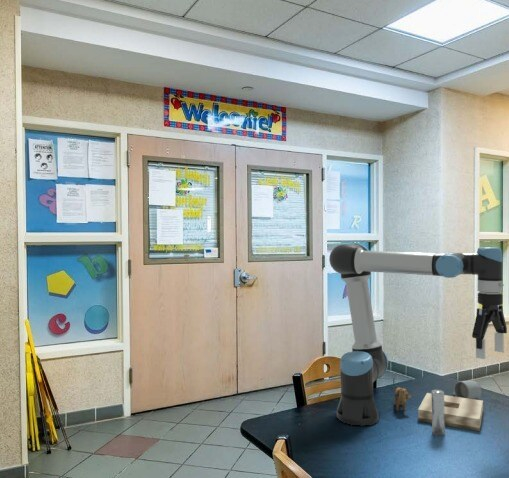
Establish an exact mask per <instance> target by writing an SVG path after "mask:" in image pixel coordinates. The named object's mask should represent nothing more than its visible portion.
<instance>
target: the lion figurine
mask: <svg viewBox="0 0 509 478" xmlns="http://www.w3.org/2000/svg"><path fill="white" fill-rule="evenodd" d="M411 397H412V395H411V394H409V392H408V391H407V389H406V388H402V387H396V388H395V391H394V403H393V405H396V408H395V411H396V410H397V412H399V411H400V405H402V406H401V408H402V411H406V410H407V408H406V407H405V406H406V402H407V401H408V400H409V401H410V398H411Z"/></svg>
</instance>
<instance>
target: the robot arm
mask: <svg viewBox="0 0 509 478" xmlns="http://www.w3.org/2000/svg"><path fill="white" fill-rule="evenodd" d="M503 260H504V259H503V250H502V248H500V247H492V246H491V247H489V246H488V247H485V246H483V247H478V248H477V251H476V252H449V251H448V252H442V253H431V252H428V253H427V252H404V251H383V250H382V251H380V250H369V248H367V247H366V246H364V245H363V244H360V243H345V244H343V243H342V244H339V245H336V246H335V247H334V248H333V249H332V251H330V254H329V264H330V265H329V266H330V267H331V268H332V269H333V271H335V272H336V273H338V274H340V279H341V280H342V281H343V282H345V286H346V292H347V298H348V305H349V312H350V318H351V325H352V332H353V337H354V343H353V345H352V346H351V351H349V352H346V353H344V354H342V356H341V357H340V363H339V369H340V371H339V372H340V375H339V376H340V399H339V401H338V406H337V408H336V418H338V419H339V420H340V421H342V422H345V423H347V424H346V425H348V424H352V425H364V426H363V427H366V426H365V425H370V426H373V425H375V423H376V424H377V423H379V421H378V420H380V419H379V418H380V417H379V416H380V415H379V411H378V409H377V405H376V403H375V399H374V382H375V381H377V380H378V379H380V378H381V377H383V376H384V374H385V373H386V371H387V370H388V366H389V359H388V356H387V354H386V352H385V351H384V350H383V346H382V345H383V344H382V343H381V342H380V341H379V340H378V337H377V332H376V326H375V320H374V313H373V307H372V306H373V305H372V301H371V299H372V298H371V294H370V287H369V282H368V281H369V278H370V277H371V273H373V272H374V273H385V274H387V273H388V274H390V273H391V274H402V275H403V274H405V275H421V276H435V277H443V278H446V279H449V278H452V279H453V278H456V277H458V276H459V275H474V276H475V275H477V292H478V293H477V303H478V304H479V305H481V308H479V307H478V308H476V316H475V321H474V325H473V329H472V334H471V337H472V339H475V358H476V359H480V360H486V338H485V335H486V333H487V330H488V327H489V325H490V324H491V323H492V326H493V328H494V330H495V332H494V352H498V353H504V351H505V350H504V347H505V346H504V345H505V344H504V342H505V341H504V340H505V339H504V337H505V336H504V334H507V333H508V331H507V329H508V328H507V327H508V326H507V324H506V319H505V315H504V309H503V301H504V300H503V293H502V292H503V287H504V283H503V270H504V269H503V267H504V265H503V262H504V261H503ZM338 419H337V420H338ZM339 420H338V421H339ZM340 421H339V422H340ZM342 422H341V423H342ZM352 425H351V426H352Z"/></svg>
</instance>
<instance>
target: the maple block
mask: <svg viewBox="0 0 509 478" xmlns="http://www.w3.org/2000/svg"><path fill="white" fill-rule="evenodd" d="M444 408H445V426H448V427H454V428H460V429H467V430H472V431H479V432H480V431H481V426H482V421H483V416H484V415H483V414H484V400H481V399H468V398H461V397H456V396H454V395H446V394H444ZM417 419H418V421H419V422H426V423H430V424H432V396H431V392H426V394H425V396H424V398H423V399H422V401H421V404H420V405H419V407H418V409H417Z"/></svg>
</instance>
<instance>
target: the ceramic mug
mask: <svg viewBox="0 0 509 478" xmlns="http://www.w3.org/2000/svg"><path fill="white" fill-rule="evenodd" d="M452 393H453V396H454V395H455V397H461V398H468V399H475V400H478V398H480V397H481V396H482V393H483V392H482V387H481V385H480V383H479V382H478V381H475V380H459V381H457V382H456V383H455V384H454V386H453V391H452Z"/></svg>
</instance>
